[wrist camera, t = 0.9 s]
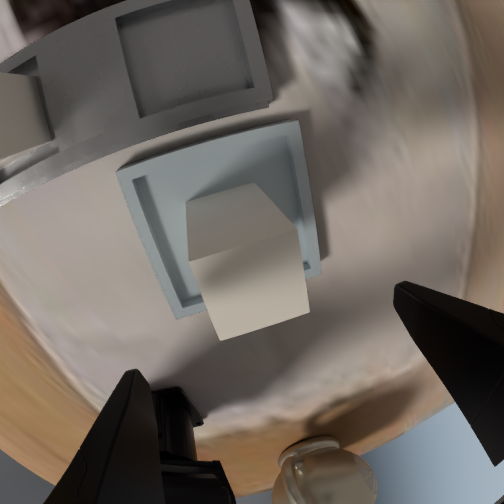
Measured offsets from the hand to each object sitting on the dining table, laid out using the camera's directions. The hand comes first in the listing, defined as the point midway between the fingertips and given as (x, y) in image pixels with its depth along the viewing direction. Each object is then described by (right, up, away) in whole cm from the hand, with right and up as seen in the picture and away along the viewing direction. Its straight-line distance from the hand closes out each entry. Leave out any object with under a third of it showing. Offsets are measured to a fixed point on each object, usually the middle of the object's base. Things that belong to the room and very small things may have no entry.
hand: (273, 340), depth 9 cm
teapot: (+6, -24, +26) cm, 35 cm away
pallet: (-9, +12, +4) cm, 15 cm away
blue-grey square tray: (-2, +5, +9) cm, 10 cm away
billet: (-2, +4, +8) cm, 10 cm away
